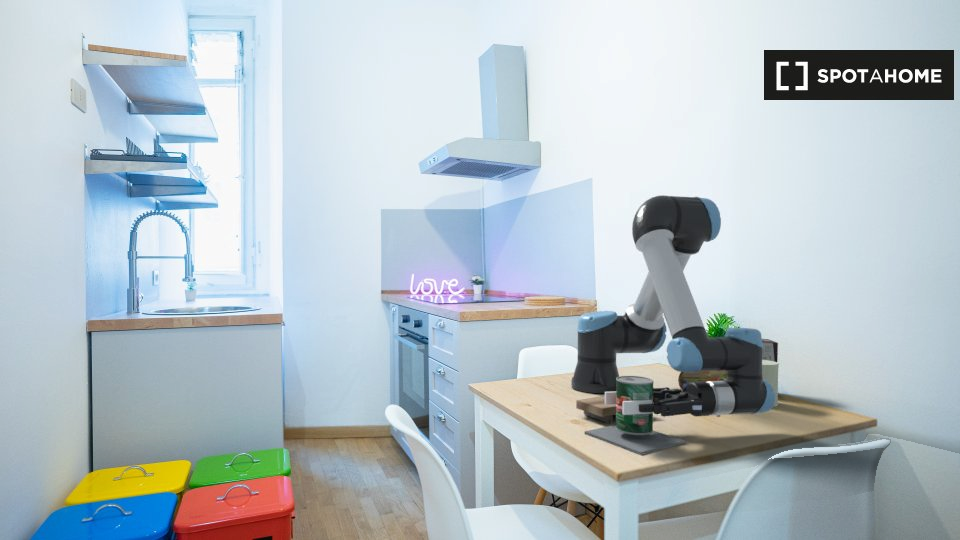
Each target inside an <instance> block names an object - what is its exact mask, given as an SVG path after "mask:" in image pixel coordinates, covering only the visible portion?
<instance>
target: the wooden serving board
mask: <svg viewBox="0 0 960 540" xmlns="http://www.w3.org/2000/svg"><path fill="white" fill-rule="evenodd" d="M575 406H576V409H578V410H580V411H582V412H583V415H584V416H586V417H587V416H588V417H590V418H593V419H597V420H598V421H602V422H605V423H608V424H611V423H613V420H614V416H616V404H609V405H606V404H605V395H602V396H601V395H600V396H595V397H590V398H589V397H588V398H582V399H576V405H575Z"/></svg>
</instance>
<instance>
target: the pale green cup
mask: <svg viewBox="0 0 960 540" xmlns="http://www.w3.org/2000/svg"><path fill="white" fill-rule="evenodd" d="M779 365H780V364H779V362H778V361H777V362H774V361H769V360H762V377H763V380H765V381H767V382H769V383H770V384H771V386H772V387H773V392H774V393H775V403H774V406H773V407H772V408H775V407H778V406H779V401H778V400H779V399H778V398H779V397H778V396H779V395H778V394H779V391H778V390H779V387H778V386H779Z"/></svg>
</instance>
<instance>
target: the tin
mask: <svg viewBox="0 0 960 540" xmlns="http://www.w3.org/2000/svg"><path fill="white" fill-rule="evenodd" d="M677 381H678V385H679V389H681V391H683V390H684V389H685V387H686V385H687V384H688V383H690V382H706V381H727V376H726V371H701V372H695V373H693V372H679V375H678V380H677Z"/></svg>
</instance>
